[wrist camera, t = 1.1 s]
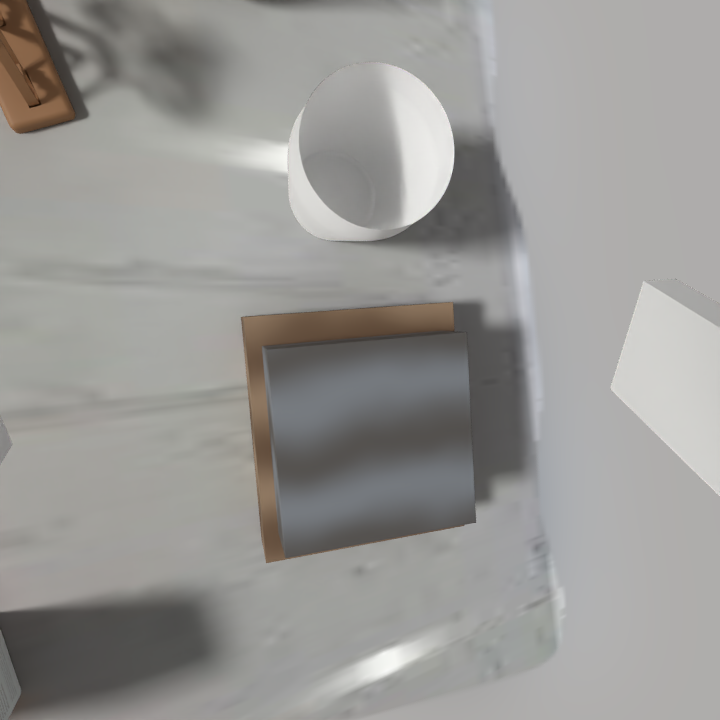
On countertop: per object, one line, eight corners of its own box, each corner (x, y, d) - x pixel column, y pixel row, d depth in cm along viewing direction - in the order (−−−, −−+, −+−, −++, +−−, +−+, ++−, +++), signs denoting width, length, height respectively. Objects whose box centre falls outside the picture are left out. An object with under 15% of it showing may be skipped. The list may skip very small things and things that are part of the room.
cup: (266, 134, 38) (287, 54, 26) (384, 134, 40) (452, 61, 29) (278, 260, 39) (303, 237, 27) (393, 254, 41) (462, 229, 30)
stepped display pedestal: (241, 317, 38) (246, 317, 31) (431, 303, 42) (479, 300, 35) (261, 539, 40) (272, 592, 33) (442, 507, 44) (490, 547, 36)
